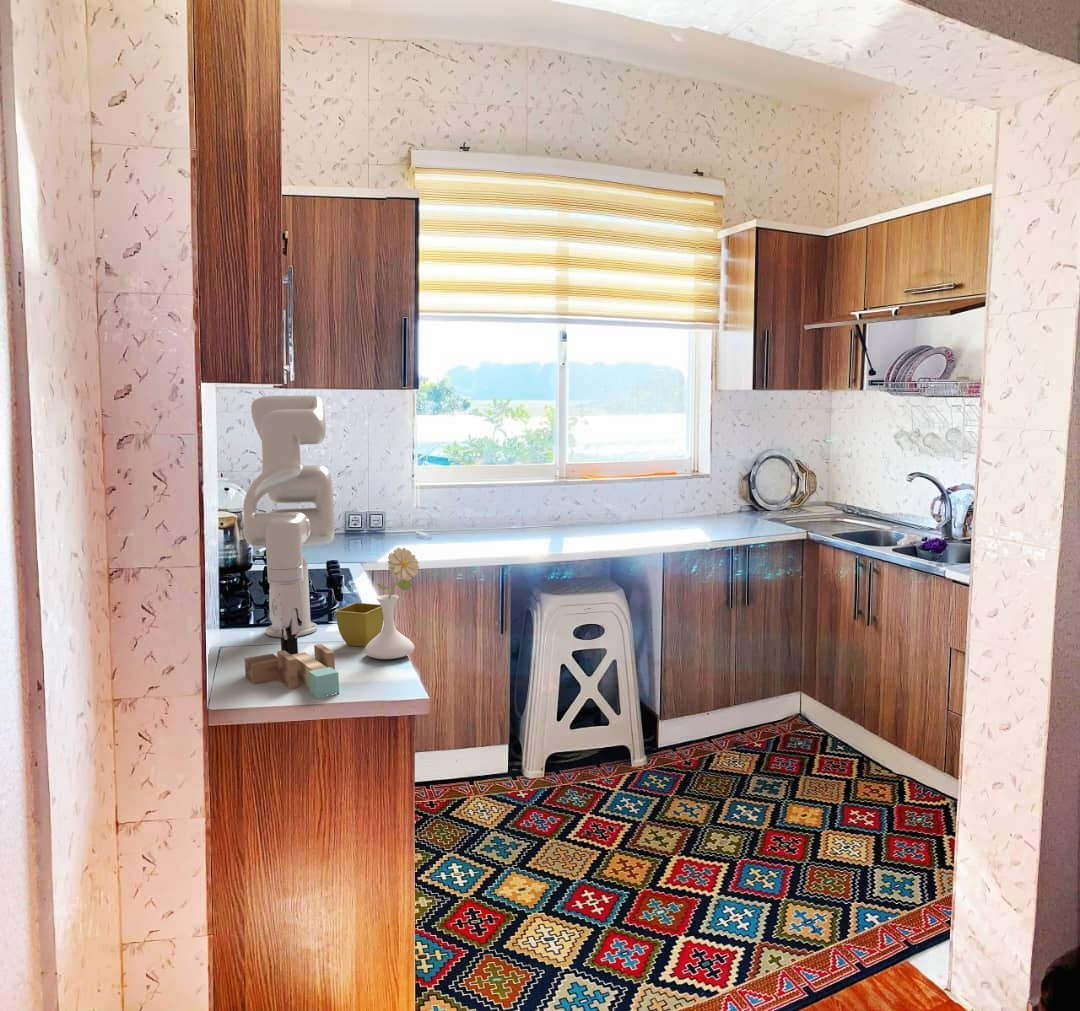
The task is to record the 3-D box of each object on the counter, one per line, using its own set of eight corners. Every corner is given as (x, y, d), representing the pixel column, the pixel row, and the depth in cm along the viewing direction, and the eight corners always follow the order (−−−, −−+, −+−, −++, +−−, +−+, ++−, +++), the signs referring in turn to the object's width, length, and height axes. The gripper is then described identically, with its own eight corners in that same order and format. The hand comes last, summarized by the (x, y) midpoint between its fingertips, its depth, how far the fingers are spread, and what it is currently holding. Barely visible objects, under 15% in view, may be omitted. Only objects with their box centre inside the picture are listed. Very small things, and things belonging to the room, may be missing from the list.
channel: (278, 679, 181) (277, 651, 180) (322, 670, 186) (320, 643, 185) (290, 688, 174) (289, 660, 174) (335, 679, 180) (334, 652, 179)
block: (309, 692, 172) (308, 671, 172) (331, 688, 175) (330, 666, 174) (317, 698, 168) (316, 676, 168) (339, 694, 171) (338, 672, 170)
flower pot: (367, 650, 201) (365, 613, 200) (335, 647, 205) (334, 610, 203) (387, 640, 209) (385, 604, 208) (356, 637, 213) (355, 602, 212)
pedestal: (245, 676, 183) (244, 658, 182) (273, 671, 186) (272, 653, 186) (253, 683, 178) (252, 665, 178) (282, 678, 181) (281, 659, 181)
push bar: (292, 675, 184) (291, 654, 184) (305, 672, 186) (304, 652, 185) (314, 692, 173) (313, 670, 172) (328, 689, 174) (327, 667, 174)
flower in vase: (370, 666, 189) (365, 554, 186) (360, 652, 199) (355, 547, 196) (427, 658, 194) (423, 549, 191) (415, 646, 204) (411, 542, 201)
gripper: (258, 570, 191) (262, 649, 194) (278, 583, 179) (283, 667, 182) (291, 566, 195) (295, 643, 198) (313, 578, 183) (317, 660, 186)
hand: (289, 654), depth 190 cm, fingers closed
